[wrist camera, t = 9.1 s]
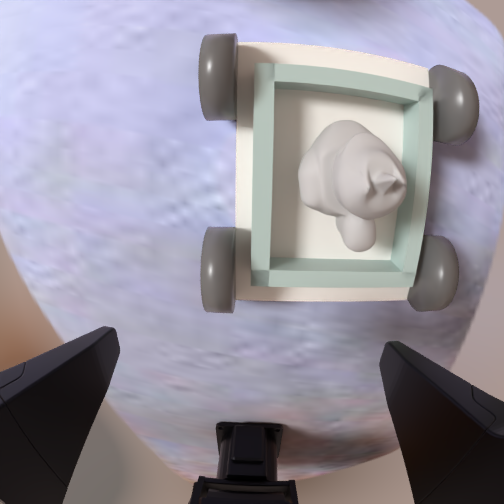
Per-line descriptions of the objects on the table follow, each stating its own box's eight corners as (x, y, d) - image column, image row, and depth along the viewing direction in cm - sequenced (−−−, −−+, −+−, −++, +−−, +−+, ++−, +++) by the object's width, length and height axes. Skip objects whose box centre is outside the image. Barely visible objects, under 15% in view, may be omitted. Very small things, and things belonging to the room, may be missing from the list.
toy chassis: (414, 290, 20) (445, 324, 16) (216, 288, 21) (203, 328, 16) (435, 77, 15) (476, 65, 10) (216, 50, 15) (201, 21, 11)
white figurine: (376, 121, 15) (453, 109, 8) (384, 228, 17) (453, 282, 10) (286, 127, 16) (308, 109, 8) (300, 239, 18) (327, 305, 10)
